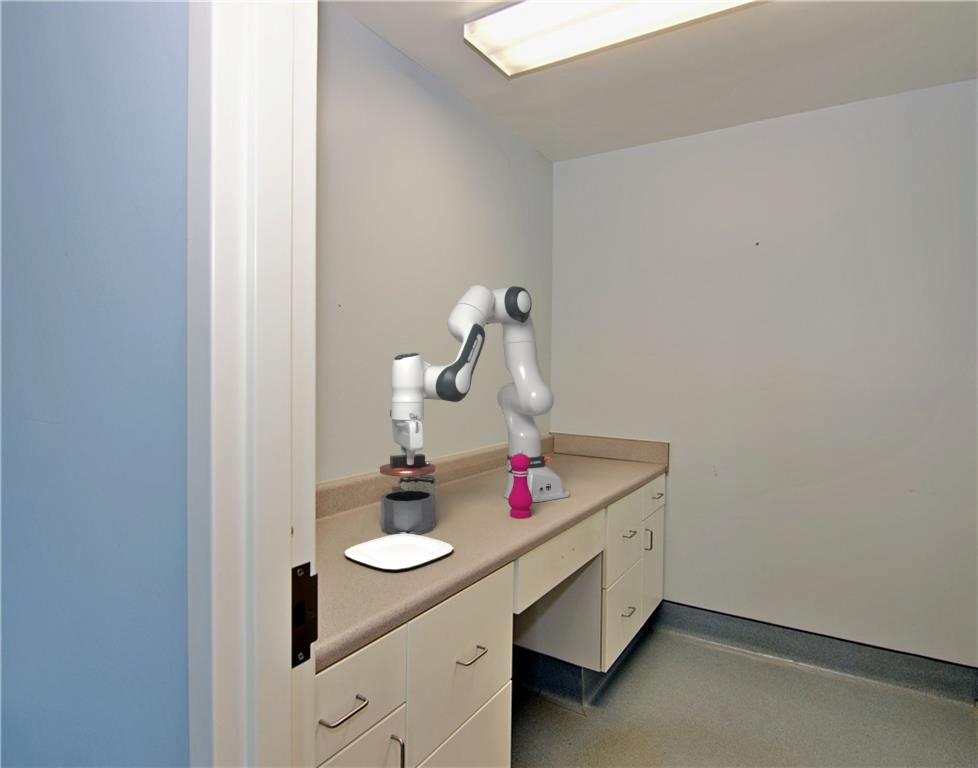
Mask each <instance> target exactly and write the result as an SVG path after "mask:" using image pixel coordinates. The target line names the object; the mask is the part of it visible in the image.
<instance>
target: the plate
mask: <svg viewBox="0 0 978 768" xmlns="http://www.w3.org/2000/svg"><path fill="white" fill-rule="evenodd" d="M453 550H455V549H454V547H453V546H452V545H451V544H450V543H449V542H448V543H447V542H446V541H442V540H439V539H436V538H431V537H428V536H425V535H424V536H423V535H415V534H395V535H389V534H388V535H386V536H381V537H378V538H374V539H371V540H368V541H365V542H362V543H359V544H355V545H354V546H350V547H349V548H348V549H346V550H345V551H344V556H345V557H346V558H348V559H351V560H352V561H354V562H357V563H361V564H363V565H367V566H369V567H373V568H376V569H380V570H387V571H401V570H408V569H411V568H415V567H419V566H422V565H424V564H428V563H431V562H432V561H435V560H438V559H440V558H442V557H444V556H446V555H449V554H451V552H452V551H453Z"/></svg>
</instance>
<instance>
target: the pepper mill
mask: <svg viewBox="0 0 978 768" xmlns="http://www.w3.org/2000/svg"><path fill="white" fill-rule="evenodd" d="M517 453H518V454H516V455H514V456H513V457H512V458H511V461H510V465H511V467H512V468H513V470H512V475H513V478H514V482H513V487H512V490H511V492H510V495H509V499H508V498H507V499H508V500H507V501H508V505H509V507H510V509H509V516H510V517H511V518H514V519H527V518H528V519H529V518H530V517H531V516H532V510H531V507H532V506H533V503H534V502H533V500H532V495H531V493H530V490H529V488H528V484H527V476H528V475H529V474H528V472H529V471H528V468H529V467H530V459H529V457H528V456H527V455H525V454H523V450H522V449H518V451H517Z"/></svg>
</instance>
